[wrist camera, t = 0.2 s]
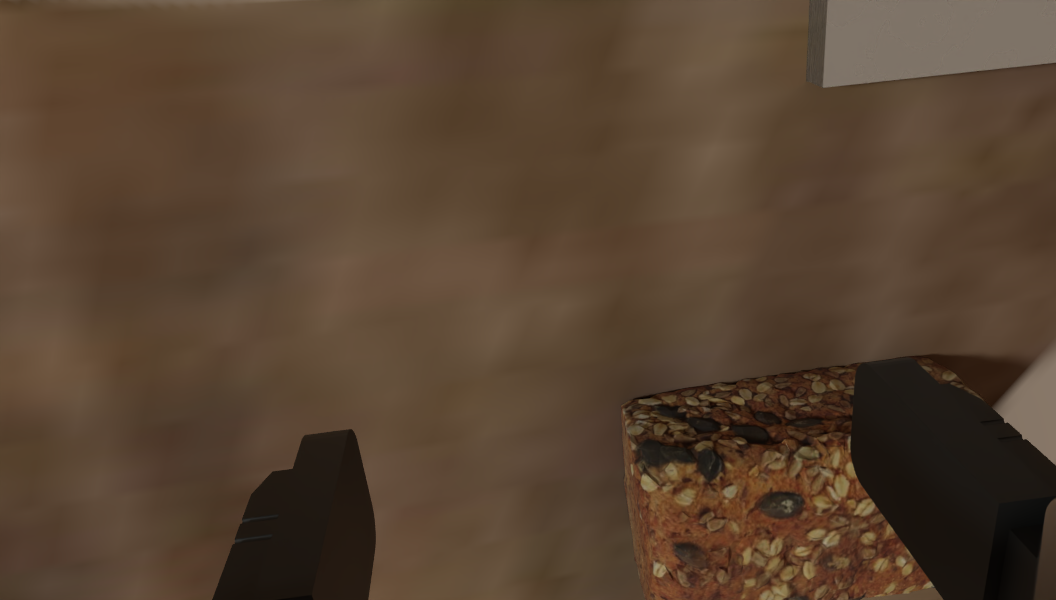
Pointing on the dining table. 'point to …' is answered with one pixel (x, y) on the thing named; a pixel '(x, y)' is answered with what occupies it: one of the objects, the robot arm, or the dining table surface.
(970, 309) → the dining table surface
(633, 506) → the bread
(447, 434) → the dining table surface
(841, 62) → the console panel
